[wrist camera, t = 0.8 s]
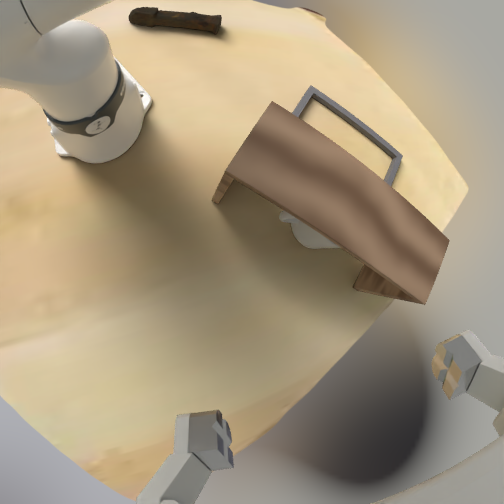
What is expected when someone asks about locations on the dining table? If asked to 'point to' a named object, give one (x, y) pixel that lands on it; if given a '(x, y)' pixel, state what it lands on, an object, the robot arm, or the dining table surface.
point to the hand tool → (175, 19)
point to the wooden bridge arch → (340, 204)
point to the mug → (306, 233)
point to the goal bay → (355, 123)
